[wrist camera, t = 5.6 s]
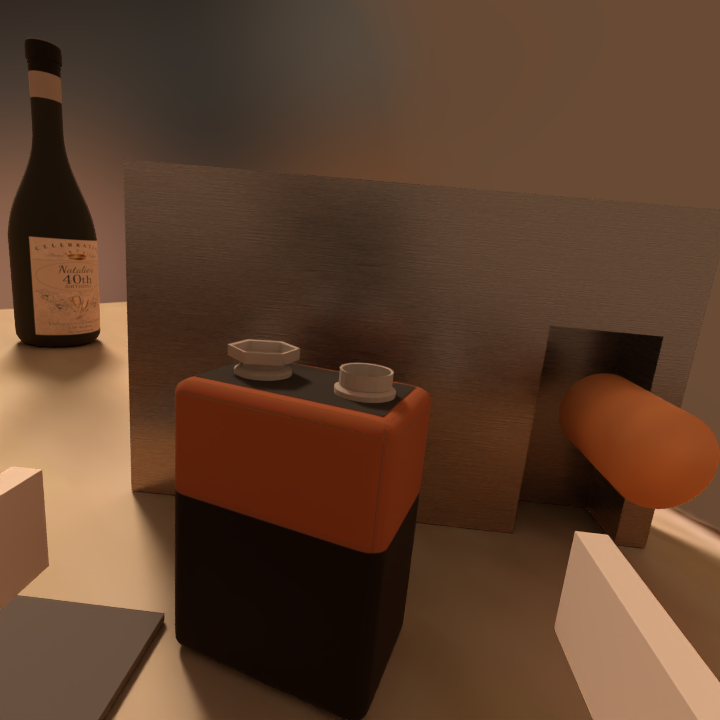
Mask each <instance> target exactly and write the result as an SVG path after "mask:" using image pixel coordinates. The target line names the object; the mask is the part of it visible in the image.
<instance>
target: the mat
mask: <svg viewBox="0 0 720 720" xmlns="http://www.w3.org/2000/svg"><path fill="white" fill-rule="evenodd" d="M163 622H164V613H158V612H149V611H141V610H133V609H125V608H117V607H109V606H101V605H92V604H84V603H76V602H68V601H60V600H52V599H44V598H35V597H27V596H19V595H16V596H15V597H14V598H13V599H12V600H11V601H10V602H9V603H8V604H6V605H5V606H4V607H3V608H2V609H1V610H0V720H104V719H105V717H106V716H107V714H108V712H109V711H110V709H111V707H112V706H113V704H114V702H115V701H116V699H117V698H118V696H119V694H120V693H121V691H122V689H123V688H124V686H125V684H126V683H127V681H128V679H129V678H130V676H131V675H132V673H133V671H134V670H135V668H136V666H137V665H138V663H139V661H140V660H141V658H142V657H143V655H144V653H145V652H146V650H147V648H148V647H149V645H150V643H151V642H152V640H153V638H154V637H155V635H156V634H157V632H158V630H159V629H160V627H161V625H162V624H163Z"/></svg>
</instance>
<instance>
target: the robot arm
mask: <svg viewBox="0 0 720 720" xmlns="http://www.w3.org/2000/svg"><path fill="white" fill-rule="evenodd" d="M48 566H49V561H48V547H47V533H46V519H45V505H44V491H43V477H42V470H41V469H33V468H24V467H15V466H12V467H10V468H8V469H7V470H5V471H3V472H1V473H0V610H1V609H2V608H3V607H4V606H5V605H6V604H8V603H9V602H10V601H11V600H12V599H13V598H14V597H15V596H16V595H17V594H18V593H20V592H21V591H22V590H23V589H24V588H25V587H26V586H27V585H28V584H29V583H30V582H32V581H33V580H34V579H35V578H36V577H37V576H38V575H39V574H40V573H41V572H42V571H44V570H45V569H46V568H47V567H48ZM554 630H555V632H556V635H557V637H558V639H559V642H560V644H561V646H562V649H563V651H564V653H565V656H566V658H567V660H568V663H569V665H570V667H571V670H572V672H573V674H574V677H575V679H576V681H577V684H578V686H579V688H580V691H581V693H582V695H583V698H584V700H585V702H586V705H587V707H588V709H589V712H590V714H591V717H592V719H593V720H720V682H719V681H718V679H717V678H716V677H715V676H714V674H713V673H712V672H711V670H710V669H709V668H708V666H707V665H706V664H705V662H704V661H703V660H702V658H701V657H700V656H699V654H698V653H697V652H696V650H695V649H694V648H693V646H692V645H691V644H690V643H689V641H688V640H687V639H686V637H685V636H684V635H683V633H682V632H681V631H680V629H679V628H678V627H677V625H676V624H675V623H674V621H673V620H672V619H671V617H670V616H669V615H668V613H667V612H666V611H665V610H664V608H663V607H662V606H661V604H660V603H659V602H658V600H657V599H656V598H655V596H654V595H653V594H652V592H651V591H650V590H649V588H648V587H647V586H646V584H645V583H644V582H643V581H642V579H641V578H640V577H639V575H638V574H637V573H636V571H635V570H634V569H633V567H632V566H631V565H630V563H629V562H628V561H627V559H626V558H625V557H624V555H623V554H622V553H621V551H620V550H619V549H618V548H617V546H616V545H615V544H614V542H613V541H612V540H611V538H610V537H609V536H608V535H605V534H597V533H588V532H579V531H575V533H574V538H573V543H572V547H571V552H570V557H569V561H568V566H567V570H566V575H565V580H564V584H563V589H562V594H561V598H560V603H559V608H558V612H557V617H556V621H555V626H554Z"/></svg>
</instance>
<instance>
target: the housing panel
mask: <svg viewBox="0 0 720 720" xmlns="http://www.w3.org/2000/svg"><path fill="white" fill-rule="evenodd" d="M124 198H125V199H124V201H125V241H126V278H127V279H126V280H127V322H128V362H129V403H130V443H131V484H132V490H134V491H143V492H152V493H161V494H170V495H175V391H176V387H177V385H178V384H179V383H180V382H181V381H183V380H185V379H187V378H190V377H193V376H196V375H199V374H202V373H205V372H209V371H212V370H215V369H218V368H221V367H225V366H228V365H231V364H234V363H237V362H239V361H237V360H235V359H233V358H231V357H229V356H227V354H228V344H231V343H235V342H239V341H243V340H247V339H252V340H269V341H283V342H285V343H288V344H290V345H293V346H295V347H298V348H300V359H299V360H297V361H294V362H291V363H296V364H301V365H307V366H312V367H317V368H323V369H328V370H333V371H339V372H340V366H341V365H343V364H347V363H369V364H376V365H381V366H384V367H387V368H390V369H391V370H393V372H394V375H393V382H398V383H403V384H408V385H412V386H416V387H420V388H422V389H424V390H425V391H426V392H427V393H428V394H429V396H430V398H431V409H430V417H429V424H428V432H427V440H426V448H425V455H424V463H423V471H422V479H421V487H420V494H419V502H418V510H417V518H416V522H418V523H427V524H436V525H445V526H454V527H463V528H472V529H480V530H489V531H498V532H507V533H513V527H514V522H515V516H516V511H517V505H518V500H523V501H532V502H541V503H550V504H559V505H568V506H578V507H586V508H587V510H588V511H589V512H590V514H591V515H592V516H593V518H594V519H595V520H596V521H597V523H598V524H599V525H600V527H601V528H602V529H603V531H604V532H605V533H606V535H608V536H609V537H610V538H611V540H612V541H613V542H614V544H615V545H623V546H631V547H640V548H645V546H646V542H647V538H648V534H649V530H650V526H651V522H652V518H653V514H654V511H655V509H651V508H645V507H642V506H638V505H636V504H634V503H632V502H630V501H628V500H627V499H626V498H624V497H623V496H622V495H621V494H620V493H619V492H618V491H617V490H616V489H615V488H614V487H613V486H612V484H611V483H610V482H609V481H608V480H607V479H606V478H605V477H604V476H603V475H602V474H601V473H600V472H599V471H598V470H597V469H596V468H595V467H594V466H593V464H592V463H591V462H590V461H589V460H588V459H587V458H586V457H585V456H584V455H583V454H582V453H581V452H580V451H579V450H578V449H577V448H576V447H575V445H574V444H573V443H572V442H571V441H570V440H569V439H568V438H567V437H566V436H565V434H564V433H563V431H562V429H561V426H560V423H559V408H560V404H561V401H562V399H563V397H564V395H565V394H566V392H567V391H568V390H569V389H570V388H571V387H572V386H573V385H574V384H575V383H576V382H578V381H579V380H581V379H583V378H585V377H587V376H590V375H594V374H600V373H609V374H615V375H618V376H621V377H623V378H625V379H627V380H629V381H630V382H632V383H634V384H636V385H638V386H640V387H642V388H643V389H645V390H647V391H649V392H651V393H653V394H654V395H656V396H658V397H660V398H662V399H664V400H665V401H667V402H669V403H671V404H673V405H675V406H677V407H678V408H680V409H681V405H682V401H683V397H684V393H685V389H686V385H687V381H688V377H689V374H690V370H691V366H692V362H693V358H694V354H695V350H696V346H697V342H698V338H699V334H700V330H701V327H702V322H703V319H704V315H705V311H706V307H707V303H708V299H709V295H710V291H711V287H712V283H713V280H714V276H715V272H716V268H717V264H718V260H719V256H720V210H716V209H704V208H692V207H680V206H669V205H657V204H644V203H632V202H622V201H610V200H598V199H586V198H574V197H562V196H550V195H538V194H527V193H515V192H503V191H490V190H479V189H466V188H456V187H443V186H432V185H420V184H408V183H397V182H385V181H373V180H361V179H349V178H337V177H326V176H314V175H302V174H301V175H300V174H290V173H278V172H266V171H254V170H243V169H230V168H219V167H207V166H195V165H183V164H171V163H160V162H148V161H136V160H124Z"/></svg>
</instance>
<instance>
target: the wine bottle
mask: <svg viewBox="0 0 720 720" xmlns="http://www.w3.org/2000/svg"><path fill="white" fill-rule="evenodd" d="M24 45H25V57H26V59H27V63H28V73H29V86H30V100H31V115H32V131H33V133H32V134H33V137H32V148H31V153H30V158H29V161H28V164H27V167H26V170H25V173H24V175H23V178H22V180H21V183H20V185H19V188H18V190H17V193H16V195H15V198H14V201H13V204H12V208H11V212H10V217H9V226H8V242H9V255H10V268H11V280H12V292H13V305H14V318H15V329H16V334H17V336H18V337H19V338H20V340H21V341H23V342H25V343H28V344H31V345H34V346H43V347H64V346H75V345H81V344H87V343H89V342H92V341H94V340H95V339H96V338H97V337H98V335H99V334H100V309H99V283H98V260H97V259H98V257H97V238H96V233H95V228H94V224H93V220H92V217H91V214H90V211H89V209H88V206H87V204H86V202H85V199H84V197H83V195H82V193H81V191H80V188H79V186H78V184H77V182H76V179H75V177H74V174H73V172H72V170H71V167H70V164H69V161H68V158H67V154H66V150H65V145H64V137H63V122H62V99H61V75H60V70H61V68H60V67H61V66H62V56H61V50H60V48H59V47H58V46H57V45H55V44H53V43H51V42H48V41H45V40H42V39H36V38H28V39H26V40H25V44H24Z"/></svg>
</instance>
